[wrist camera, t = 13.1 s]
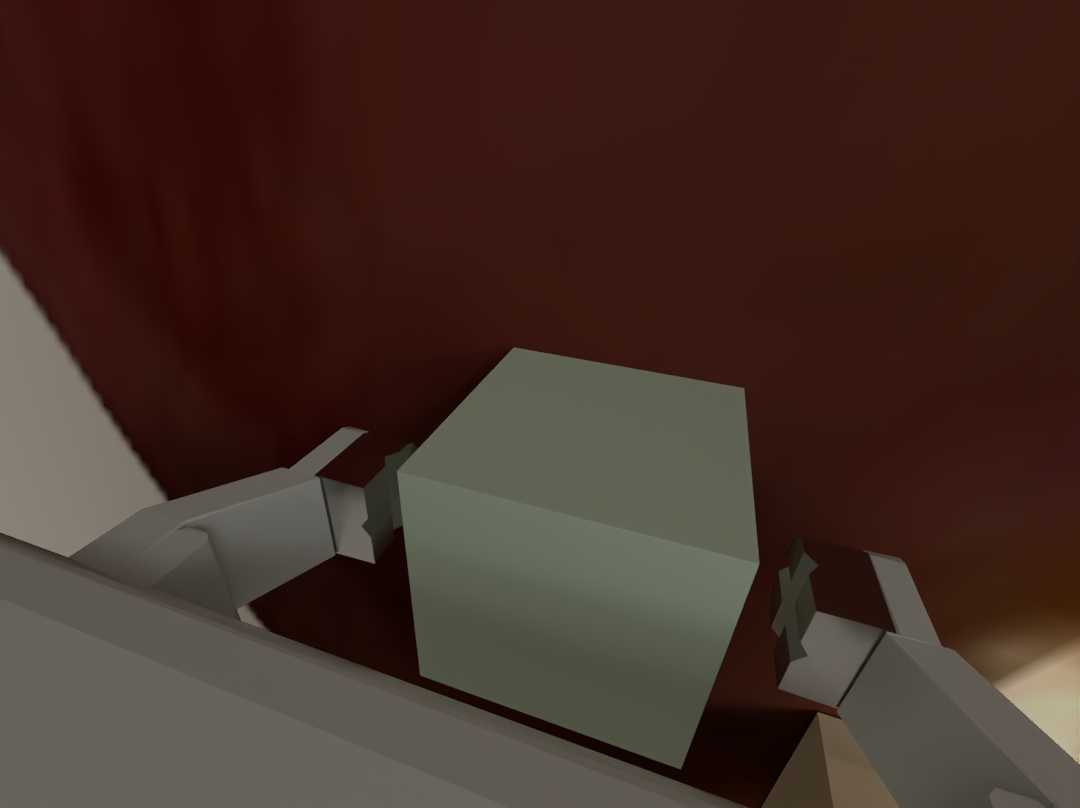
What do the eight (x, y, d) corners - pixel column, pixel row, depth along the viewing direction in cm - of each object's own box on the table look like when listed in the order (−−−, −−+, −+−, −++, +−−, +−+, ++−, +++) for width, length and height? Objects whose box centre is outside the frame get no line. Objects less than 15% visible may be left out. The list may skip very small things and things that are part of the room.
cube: (743, 386, 9) (759, 564, 5) (694, 559, 11) (681, 769, 8) (514, 345, 10) (397, 471, 7) (510, 511, 13) (420, 675, 9)
